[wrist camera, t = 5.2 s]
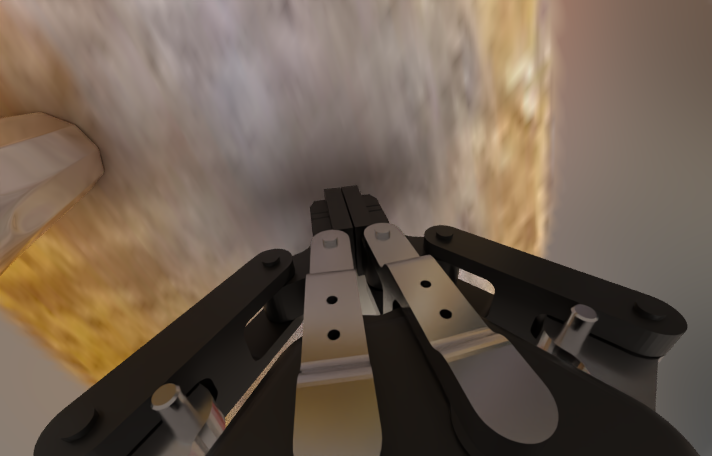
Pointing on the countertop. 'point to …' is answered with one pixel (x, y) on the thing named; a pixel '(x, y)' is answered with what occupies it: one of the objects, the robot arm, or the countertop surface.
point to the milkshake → (40, 177)
